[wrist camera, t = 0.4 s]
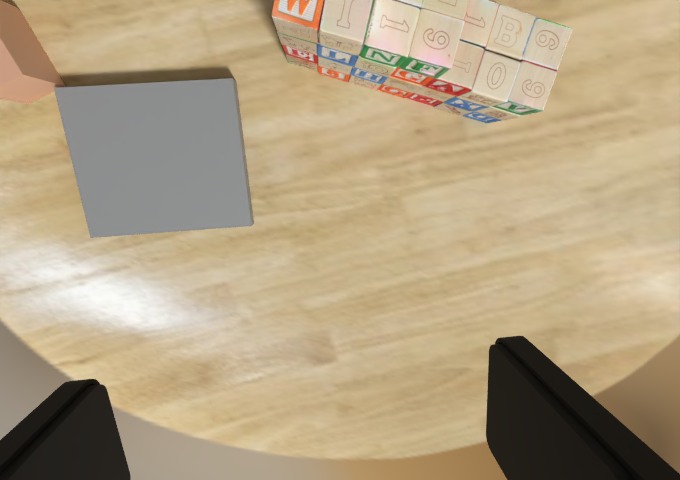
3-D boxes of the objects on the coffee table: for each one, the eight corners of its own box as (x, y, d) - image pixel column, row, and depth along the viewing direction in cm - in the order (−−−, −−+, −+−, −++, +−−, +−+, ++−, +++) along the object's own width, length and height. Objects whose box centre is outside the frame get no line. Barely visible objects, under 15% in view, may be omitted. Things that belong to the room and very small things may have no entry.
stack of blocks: (508, 61, 35) (608, 12, 23) (487, 124, 36) (570, 109, 24) (300, -7, 32) (291, -102, 20) (286, 64, 34) (268, 14, 22)
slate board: (65, 90, 33) (53, 87, 31) (236, 81, 34) (232, 78, 32) (99, 234, 36) (90, 237, 35) (253, 223, 37) (251, 225, 35)
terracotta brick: (-19, 28, 31) (-80, 5, 26) (20, 9, 31) (-35, -18, 26) (29, 104, 33) (-21, 95, 28) (66, 86, 33) (22, 74, 28)
